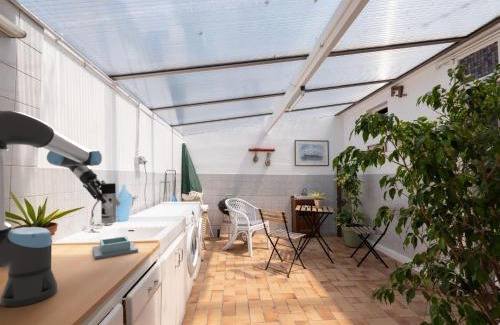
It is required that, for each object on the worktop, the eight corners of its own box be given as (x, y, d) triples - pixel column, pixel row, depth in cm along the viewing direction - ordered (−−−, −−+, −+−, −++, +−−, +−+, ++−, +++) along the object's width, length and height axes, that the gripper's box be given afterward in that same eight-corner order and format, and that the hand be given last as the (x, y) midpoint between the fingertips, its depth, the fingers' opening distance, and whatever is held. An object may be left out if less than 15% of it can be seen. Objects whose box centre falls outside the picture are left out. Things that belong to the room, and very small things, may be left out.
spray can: (98, 222, 135) (98, 183, 135) (110, 220, 141) (110, 182, 141) (106, 224, 132) (106, 184, 132) (119, 221, 138) (118, 183, 138)
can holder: (94, 259, 129) (94, 248, 130) (92, 249, 146) (92, 239, 146) (138, 251, 141) (138, 241, 141) (131, 243, 157) (131, 234, 157)
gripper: (94, 178, 148) (121, 207, 146) (66, 181, 128) (97, 214, 126) (102, 169, 147) (130, 198, 145) (75, 170, 128) (107, 203, 126)
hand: (115, 205), depth 136 cm, fingers closed on spray can, 7 cm apart
